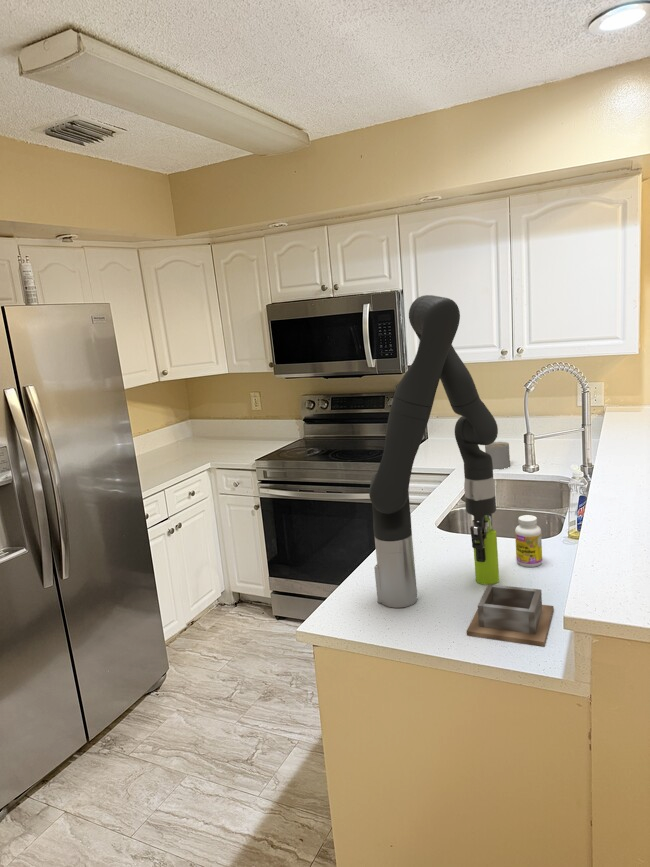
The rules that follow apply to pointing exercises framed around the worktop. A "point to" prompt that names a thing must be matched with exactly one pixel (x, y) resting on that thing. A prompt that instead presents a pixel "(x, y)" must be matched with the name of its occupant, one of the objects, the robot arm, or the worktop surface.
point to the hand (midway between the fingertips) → (483, 556)
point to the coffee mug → (499, 454)
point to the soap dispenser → (488, 559)
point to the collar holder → (512, 615)
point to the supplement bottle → (528, 542)
